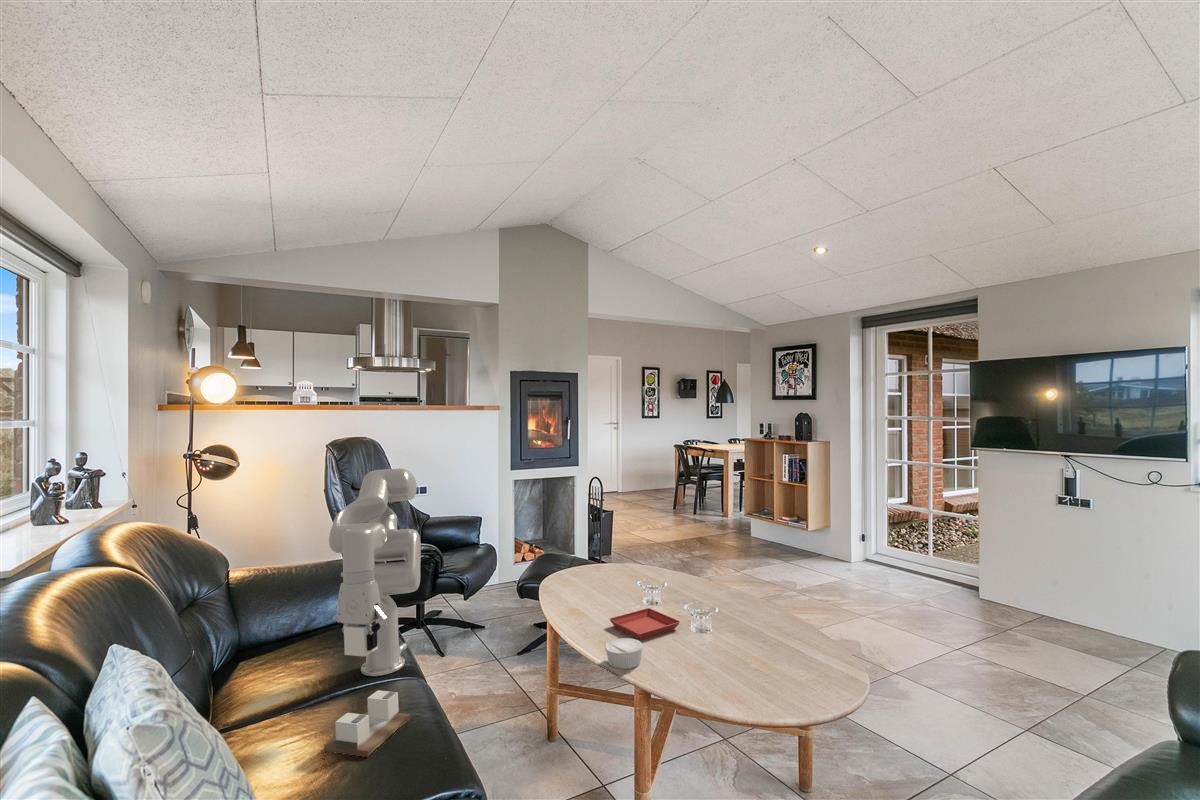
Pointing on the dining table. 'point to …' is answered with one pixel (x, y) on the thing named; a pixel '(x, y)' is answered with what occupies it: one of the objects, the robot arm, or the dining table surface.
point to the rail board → (378, 735)
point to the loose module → (356, 640)
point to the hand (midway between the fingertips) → (361, 647)
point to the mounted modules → (367, 717)
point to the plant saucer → (644, 623)
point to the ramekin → (624, 653)
